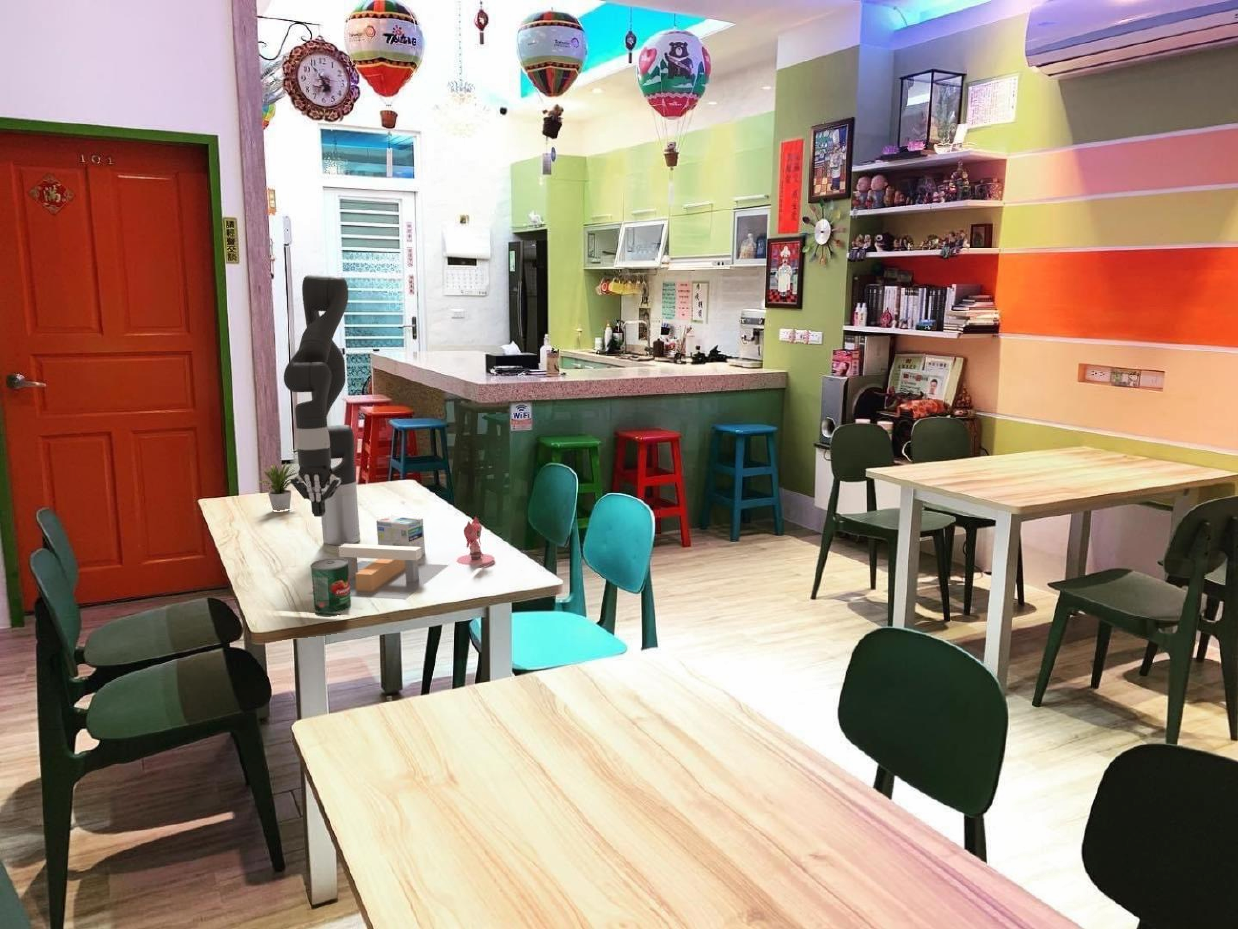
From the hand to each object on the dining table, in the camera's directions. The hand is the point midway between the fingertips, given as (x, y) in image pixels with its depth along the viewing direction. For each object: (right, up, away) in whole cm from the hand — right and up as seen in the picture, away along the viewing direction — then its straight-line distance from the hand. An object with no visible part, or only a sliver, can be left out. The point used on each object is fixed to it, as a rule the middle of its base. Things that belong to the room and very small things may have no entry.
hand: (319, 515), depth 218 cm
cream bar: (+15, -10, -1) cm, 18 cm away
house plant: (-37, -3, +74) cm, 82 cm away
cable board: (+15, -16, 0) cm, 22 cm away
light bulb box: (+15, -13, +20) cm, 28 cm away
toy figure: (+36, -13, +15) cm, 41 cm away
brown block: (+15, -15, 0) cm, 22 cm away
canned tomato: (+9, -20, -19) cm, 29 cm away
